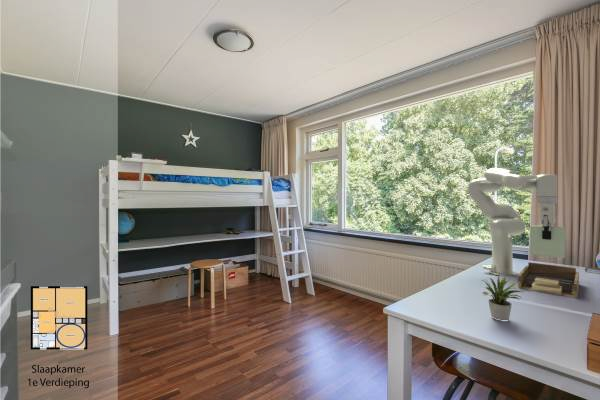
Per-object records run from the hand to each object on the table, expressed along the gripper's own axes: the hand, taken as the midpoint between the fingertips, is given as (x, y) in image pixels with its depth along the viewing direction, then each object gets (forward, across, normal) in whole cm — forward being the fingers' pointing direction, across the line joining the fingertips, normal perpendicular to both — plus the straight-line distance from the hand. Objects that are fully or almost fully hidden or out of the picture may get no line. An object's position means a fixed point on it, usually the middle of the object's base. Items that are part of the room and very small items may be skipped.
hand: (547, 238), depth 132 cm
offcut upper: (+21, -7, 0) cm, 22 cm away
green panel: (+8, 0, 0) cm, 8 cm away
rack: (+25, +2, 0) cm, 25 cm away
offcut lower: (+23, -7, 0) cm, 24 cm away
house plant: (+24, -53, +10) cm, 59 cm away
